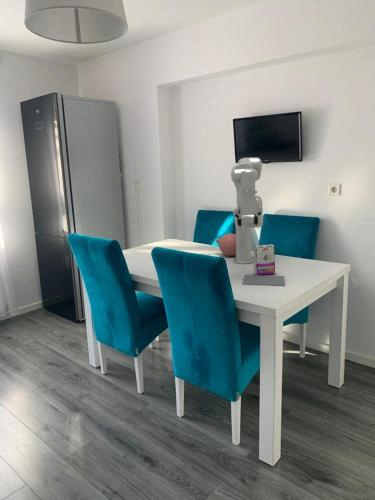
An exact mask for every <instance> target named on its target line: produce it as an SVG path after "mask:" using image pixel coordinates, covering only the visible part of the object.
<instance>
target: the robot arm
mask: <svg viewBox="0 0 375 500" xmlns="http://www.w3.org/2000/svg"><path fill="white" fill-rule="evenodd" d="M262 163H263V162H262V160H261V158H260V157H242V158H240V159H239V160H238V161H237V164H236V165H234V166H232V168H231V172H230V178H231V180H232V182H233V184H234V187H235V190H236V207H237V208H234V210H232V213H233V215H234V224H235V235H236V255H235V258H234V259H233V262H234V263H236V264H239V265H240V264H241V265H243V264H252V263H254V258H252V233H251V232H250V231H249V229H248V228H251V229H252V228H257V229H258V228H261V227H263V224H264V214H263V213H264V212H263V199H262V198H261V196H259V195H256V194H258V191H257V190H256V182H257V181H259V180H260V179H261V175H262V170H263V164H262Z"/></svg>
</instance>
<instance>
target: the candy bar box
mask: <svg viewBox="0 0 375 500" xmlns="http://www.w3.org/2000/svg"><path fill="white" fill-rule="evenodd" d="M252 249H253V252H252V253H253V273H254V274H253V275H266V276H267V275H275V274H276V262H275V260H276V259H275V258H276V255H275V245H274V244H264V245H262V244H261V245H253V247H252Z"/></svg>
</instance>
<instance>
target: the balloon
mask: <svg viewBox="0 0 375 500" xmlns="http://www.w3.org/2000/svg"><path fill="white" fill-rule="evenodd" d="M215 242H216V243H217V245H218V247H219V250H220V253H222V254H223V255H224V256H227V257H233V256H234V257H235V256H236V233H227V234H223V236H222V237H221V238H216V239H215Z"/></svg>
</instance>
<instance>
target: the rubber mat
mask: <svg viewBox="0 0 375 500" xmlns="http://www.w3.org/2000/svg"><path fill="white" fill-rule="evenodd" d="M285 283H286V281H285V275H267V274H266V275H255V274H244V276H243V280H242V283H241V284H242V285H244V286H245V285H247V286H269V287H270V286H271V287H272V286H273V287H274V286H276V287H286V284H285Z"/></svg>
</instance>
